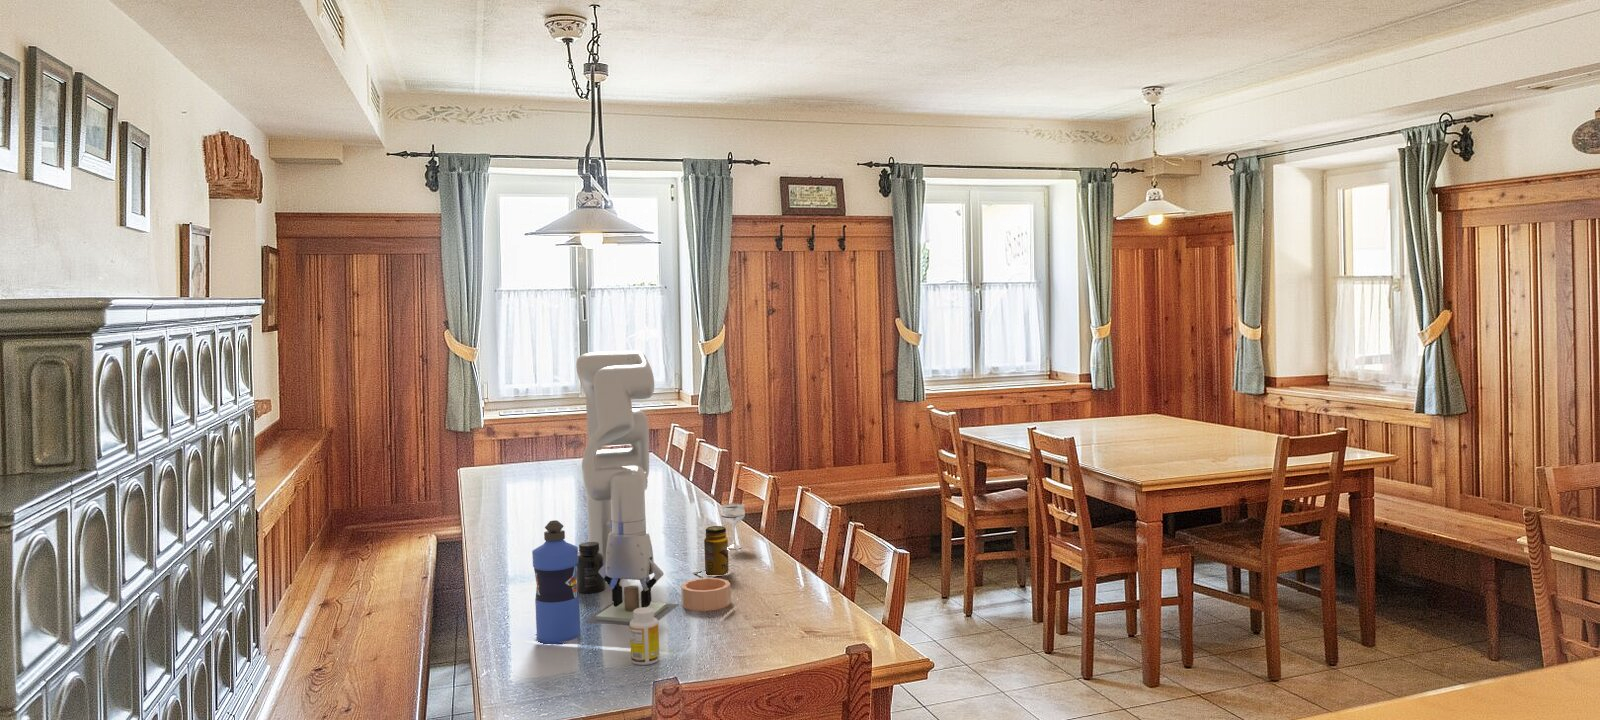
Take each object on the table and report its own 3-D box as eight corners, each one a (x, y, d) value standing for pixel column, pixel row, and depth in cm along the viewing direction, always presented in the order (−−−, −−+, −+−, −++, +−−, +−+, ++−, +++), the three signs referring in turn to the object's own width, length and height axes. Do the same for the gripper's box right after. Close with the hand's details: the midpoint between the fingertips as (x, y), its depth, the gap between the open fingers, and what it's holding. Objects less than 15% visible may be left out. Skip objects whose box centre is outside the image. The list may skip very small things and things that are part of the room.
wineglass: (745, 550, 287) (743, 507, 286) (721, 550, 287) (719, 508, 286) (746, 544, 294) (745, 503, 293) (723, 544, 294) (722, 503, 293)
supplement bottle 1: (610, 589, 252) (608, 541, 251) (596, 597, 246) (594, 548, 245) (586, 587, 254) (584, 539, 253) (571, 595, 248) (569, 546, 247)
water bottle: (584, 629, 222) (580, 515, 220) (577, 644, 212) (572, 525, 211) (541, 631, 221) (536, 517, 220) (531, 646, 212) (526, 527, 210)
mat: (583, 624, 225) (583, 621, 225) (615, 602, 240) (615, 600, 240) (650, 629, 221) (650, 626, 221) (679, 606, 236) (678, 604, 236)
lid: (595, 619, 226) (594, 593, 226) (619, 603, 238) (618, 578, 238) (645, 623, 223) (644, 596, 223) (667, 606, 235) (666, 581, 234)
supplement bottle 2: (659, 655, 205) (657, 604, 204) (660, 664, 199) (658, 613, 199) (630, 657, 204) (628, 607, 203) (631, 667, 198) (629, 615, 198)
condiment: (735, 574, 263) (733, 528, 262) (705, 580, 258) (704, 533, 257) (721, 568, 269) (719, 523, 268) (692, 573, 264) (690, 528, 263)
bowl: (675, 611, 233) (674, 590, 232) (693, 597, 243) (692, 576, 243) (720, 614, 230) (719, 592, 229) (736, 600, 240) (736, 579, 240)
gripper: (586, 529, 228) (589, 608, 229) (657, 532, 223) (660, 613, 224) (601, 522, 235) (604, 598, 236) (671, 524, 231) (674, 603, 232)
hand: (631, 605), depth 230 cm, fingers open, 6 cm apart
